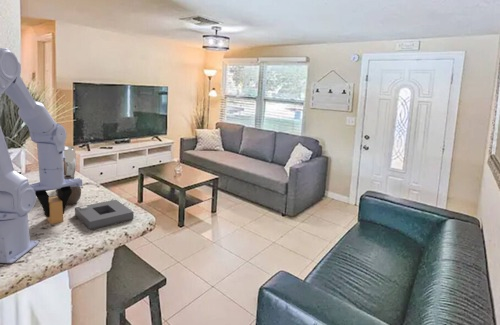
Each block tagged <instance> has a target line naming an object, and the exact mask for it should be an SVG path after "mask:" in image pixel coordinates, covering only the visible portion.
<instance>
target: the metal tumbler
mask: <svg viewBox="0 0 500 325" xmlns="http://www.w3.org/2000/svg"><path fill="white" fill-rule="evenodd" d="M76 156H77V155H76V147H75V146H71V145H65V148H64V150H63V164H64V176H66V175H71V176H73V178H74V179H75V175H76V174H75V173H76V167H77V157H76Z"/></svg>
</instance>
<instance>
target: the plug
mask: <svg viewBox="0 0 500 325" xmlns="http://www.w3.org/2000/svg"><path fill="white" fill-rule="evenodd" d="M49 213H50V216H49V217H46V216H45V217H46V220H47V222H49V223H50V224H51V225H53V224H59V223H63V222H64V214H63V206H62V200H60V199H59V198H58V197H57V196H51V197H50V196H49Z"/></svg>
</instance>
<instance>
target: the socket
mask: <svg viewBox="0 0 500 325" xmlns="http://www.w3.org/2000/svg"><path fill="white" fill-rule="evenodd" d="M134 214H135V212H134V211H133V210H131V209H130V208H129V207H127V206H126V205H124V204H123V203H122V202H121V201H119V200H117V199H112V200H108V201H107V200H105V201H101V202H95V203H92V204H87V205H86V204H85V205H80V206H75V207H74V216H76V218H77V219H79V221H80V222H82V224H84V226H86V228H88V229H89V231H93V230H96V229H100V228H105V227H109V226H112V225H116V224H122V223H126V222H129V220H130V221H133V220H132V219H134ZM125 221H126V222H125ZM121 222H122V223H121Z"/></svg>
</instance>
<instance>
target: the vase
mask: <svg viewBox="0 0 500 325" xmlns="http://www.w3.org/2000/svg"><path fill="white" fill-rule="evenodd" d="M64 179H75V177H74V178H73V176H71V175H66V176H64ZM70 189H71V190H72V193H71V195H70V197H69V199H68V201H67V204H66V206H69V205H75V204H76V203H78V201H79V200H80V199H81V196H82V188H81V186H80V187H78V186H75V187H70ZM55 195H56V196H57V197H58V191H57V189H56V190H55ZM56 196H55V197H56Z"/></svg>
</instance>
